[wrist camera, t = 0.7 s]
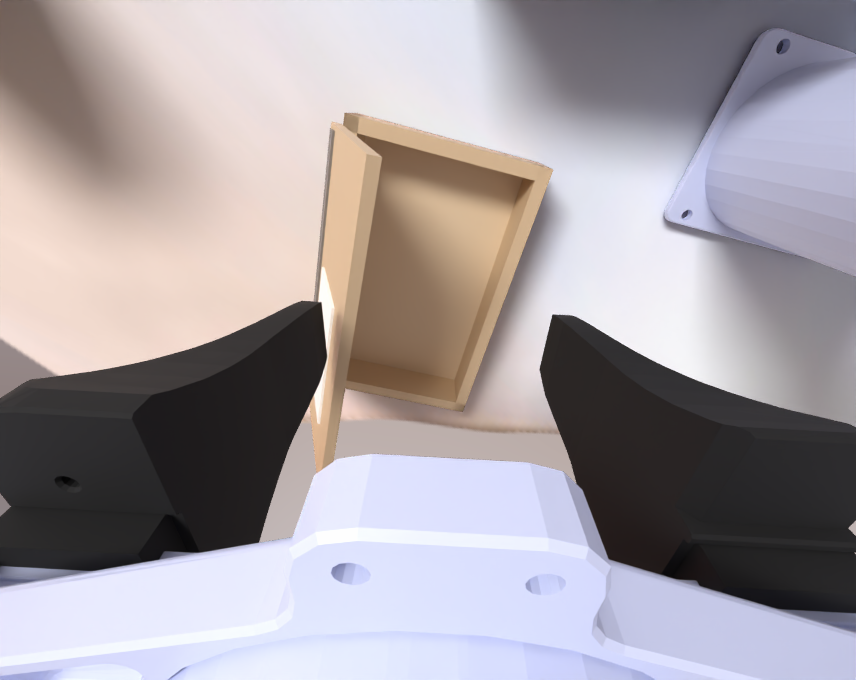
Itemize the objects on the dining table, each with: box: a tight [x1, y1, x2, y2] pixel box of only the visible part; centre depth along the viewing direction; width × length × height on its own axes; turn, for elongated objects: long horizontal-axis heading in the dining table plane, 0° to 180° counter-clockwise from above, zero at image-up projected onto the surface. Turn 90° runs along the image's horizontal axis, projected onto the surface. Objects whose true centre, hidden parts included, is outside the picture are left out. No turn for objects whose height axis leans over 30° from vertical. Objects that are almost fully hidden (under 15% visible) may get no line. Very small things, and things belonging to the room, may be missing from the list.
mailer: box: [343, 113, 553, 412], centre depth 21 cm, size 9×14×3 cm, turn 167°
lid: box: [310, 122, 382, 473], centre depth 16 cm, size 8×13×1 cm
